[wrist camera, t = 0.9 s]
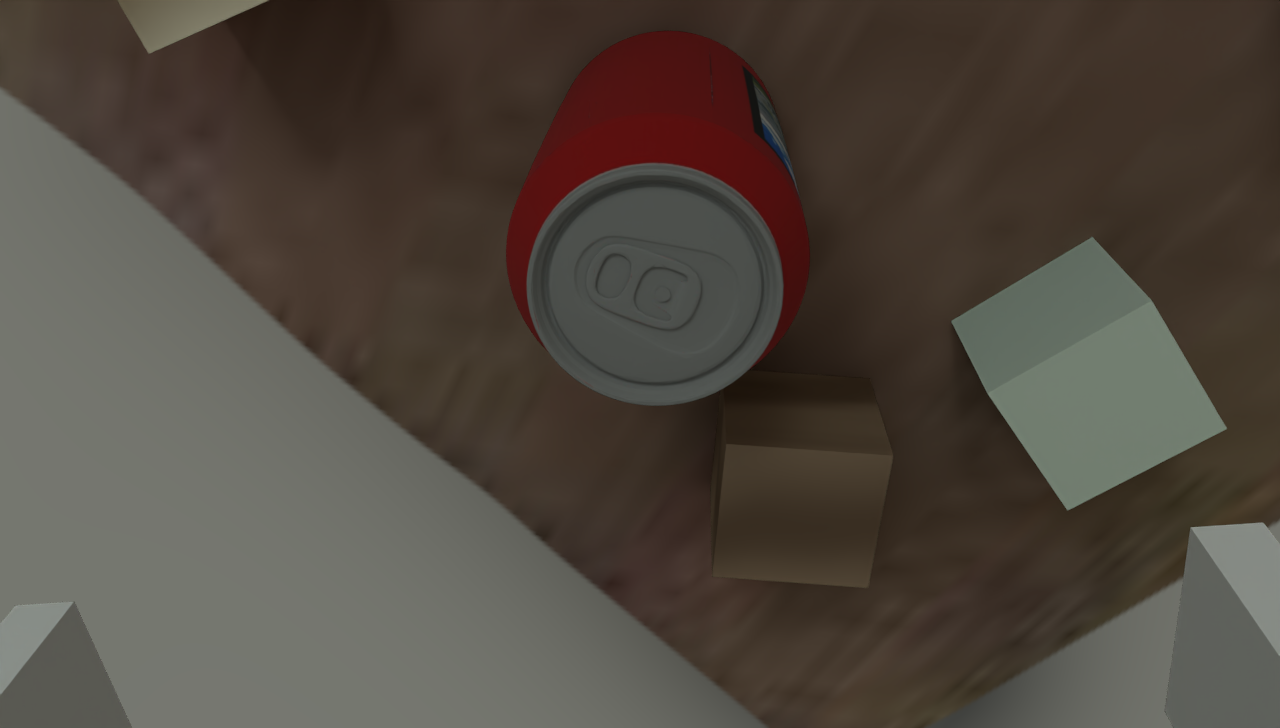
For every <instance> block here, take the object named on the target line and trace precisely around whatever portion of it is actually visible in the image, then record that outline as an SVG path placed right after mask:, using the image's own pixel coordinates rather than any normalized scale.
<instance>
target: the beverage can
mask: <svg viewBox="0 0 1280 728" xmlns="http://www.w3.org/2000/svg"><path fill="white" fill-rule="evenodd" d="M506 262H507V271H508V277H509V282H510V286H511V290H512V293H513V296H514V299H515V302H516V304H517V307H518V309H519V311H520V313H521V315H522V317H523V319H524V321H525V322H526V324H527V326H528V327H529V329H530V330H531V332H532V333H533V335H534V336H535V337H536V339H537V340H538V341H539V342H540V344H541V345H542V346H543V347H544V348H545V349H546V350H547V351H548V352H549V353H550V355H551V356H552V357H553V358H554V360H555V361H556V362H557V363H558V364H559V365H560V366H561V367H562V368H563V369H564V370H565V371H566V372H567V373H568V374H570V375H571V376H572V377H573V378H574V379H576V380H577V381H579V382H580V383H582V384H583V385H585V386H586V387H588V388H590V389H592V390H593V391H595V392H598V393H600V394H602V395H605V396H607V397H610V398H612V399H615V400H619V401H623V402H627V403H632V404H639V405H649V406H665V405H676V404H681V403H686V402H691V401H695V400H698V399H701V398H704V397H706V396H709V395H711V394H714V393H716V392H718V391H720V390H721V389H723V388H725V387H727V386H728V385H730V384H731V383H733V382H734V381H736V380H737V379H738V378H740V377H741V376H742V375H743V374H744V373H745V372H747V371H748V370H749V369H751V368H752V367H753V366H755V365H756V364H757V363H758V362H760V361H761V360H762V359H763V358H764V357H765V356H766V355H767V354H768V353H769V352H770V351H771V350H772V349H773V348H774V347H775V346H776V345H777V343H778V342H779V341H780V339H781V338H782V337H783V336H784V334H785V333H786V331H787V330H788V328H789V327H790V325H791V323H792V322H793V320H794V318H795V316H796V314H797V312H798V310H799V307H800V305H801V302H802V299H803V296H804V293H805V290H806V285H807V281H808V274H809V264H810V249H809V238H808V232H807V227H806V222H805V218H804V214H803V210H802V205H801V201H800V197H799V192H798V189H797V185H796V181H795V177H794V173H793V169H792V165H791V162H790V158H789V154H788V151H787V147H786V144H785V140H784V136H783V133H782V130H781V127H780V123H779V120H778V117H777V114H776V111H775V108H774V105H773V102H772V100H771V97H770V95H769V93H768V91H767V89H766V87H765V86H764V84H763V82H762V81H761V79H760V78H759V77H758V75H757V74H756V73H755V71H754V70H753V69H752V68H751V67H750V66H749V65H748V64H747V63H746V62H745V61H744V60H743V59H742V58H741V57H739V56H738V55H737V54H736V53H734V52H733V51H731V50H730V49H729V48H727V47H725V46H723V45H722V44H720V43H718V42H716V41H713V40H711V39H709V38H706V37H703V36H700V35H696V34H692V33H687V32H680V31H657V32H649V33H644V34H640V35H636V36H633V37H630V38H627V39H625V40H622V41H620V42H618V43H616V44H614V45H612V46H611V47H609V48H608V49H606V50H604V51H603V52H602V53H600V54H599V55H598V56H596V57H595V58H594V59H593V60H592V61H591V62H590V63H589V64H588V65H587V66H586V67H585V68H584V69H583V70H582V71H581V73H580V74H579V75H578V77H577V78H576V79H575V81H574V83H573V84H572V86H571V88H570V89H569V91H568V93H567V95H566V97H565V99H564V100H563V102H562V104H561V106H560V108H559V110H558V112H557V114H556V116H555V118H554V120H553V122H552V124H551V126H550V128H549V130H548V133H547V135H546V137H545V139H544V141H543V143H542V145H541V147H540V150H539V152H538V154H537V156H536V158H535V160H534V162H533V164H532V167H531V169H530V171H529V174H528V176H527V178H526V181H525V183H524V185H523V188H522V190H521V192H520V195H519V197H518V199H517V202H516V204H515V207H514V210H513V213H512V216H511V220H510V224H509V229H508V235H507V245H506Z"/></svg>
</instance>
